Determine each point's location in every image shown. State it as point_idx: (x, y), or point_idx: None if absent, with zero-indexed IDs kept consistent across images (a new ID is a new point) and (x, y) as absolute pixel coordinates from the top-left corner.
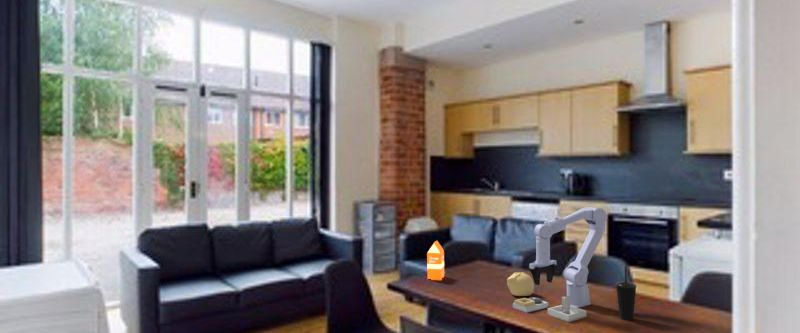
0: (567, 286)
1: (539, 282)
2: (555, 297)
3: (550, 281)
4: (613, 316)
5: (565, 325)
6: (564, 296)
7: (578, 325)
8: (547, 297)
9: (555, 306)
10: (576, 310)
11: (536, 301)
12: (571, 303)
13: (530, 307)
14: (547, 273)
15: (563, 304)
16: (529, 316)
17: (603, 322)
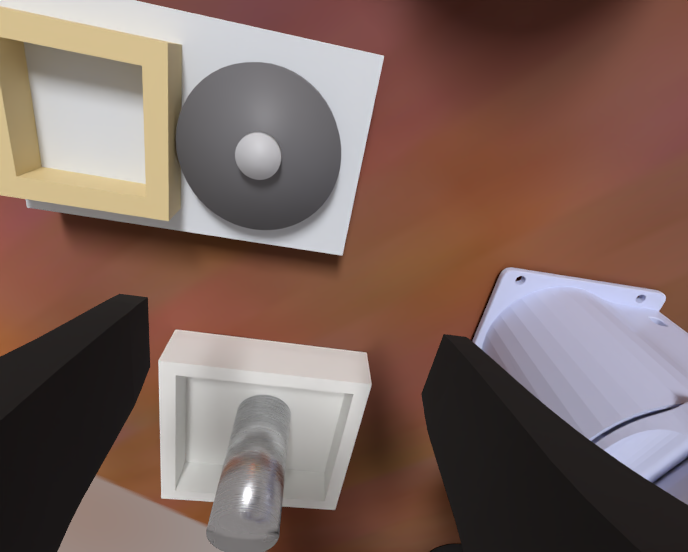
0: (577, 426)
1: (126, 409)
2: (673, 118)
3: (426, 405)
4: (443, 527)
5: (116, 472)
6: (252, 522)
7: (179, 502)
8: (637, 53)
9: (255, 372)
10: (333, 453)
11: (213, 209)
12: (487, 352)
13: (92, 213)
14: (512, 462)
15: (220, 478)
16: (12, 264)
17: (321, 536)
